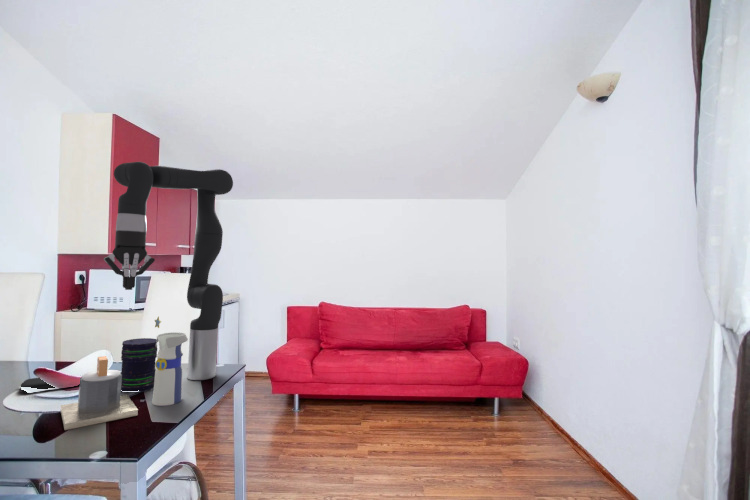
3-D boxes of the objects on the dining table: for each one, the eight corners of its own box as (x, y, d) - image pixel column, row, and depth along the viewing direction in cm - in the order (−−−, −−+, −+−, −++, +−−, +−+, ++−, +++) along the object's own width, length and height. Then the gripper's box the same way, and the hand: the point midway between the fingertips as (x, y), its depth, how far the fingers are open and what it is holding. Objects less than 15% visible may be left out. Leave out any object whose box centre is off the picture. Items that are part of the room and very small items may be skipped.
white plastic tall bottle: (169, 407, 106) (175, 318, 108) (143, 404, 108) (149, 316, 109) (189, 398, 114) (194, 314, 116) (165, 395, 116) (170, 313, 117)
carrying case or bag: (79, 379, 129) (20, 387, 119) (80, 370, 129) (21, 377, 119) (82, 387, 121) (19, 397, 111) (83, 378, 121) (20, 386, 111)
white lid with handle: (82, 396, 95) (84, 363, 96) (79, 387, 101) (81, 357, 102) (122, 389, 101) (124, 359, 101) (117, 381, 107) (119, 353, 107)
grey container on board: (60, 411, 101) (63, 375, 102) (126, 399, 111) (128, 366, 112) (64, 430, 90) (67, 389, 91) (137, 415, 100) (139, 379, 101)
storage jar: (161, 384, 126) (164, 338, 127) (142, 394, 116) (145, 344, 117) (132, 382, 127) (135, 337, 127) (111, 392, 117) (114, 343, 117)
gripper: (153, 232, 118) (151, 288, 118) (101, 229, 109) (98, 289, 109) (160, 231, 113) (157, 289, 112) (105, 228, 104) (102, 291, 103)
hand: (128, 289), depth 111 cm, fingers closed
